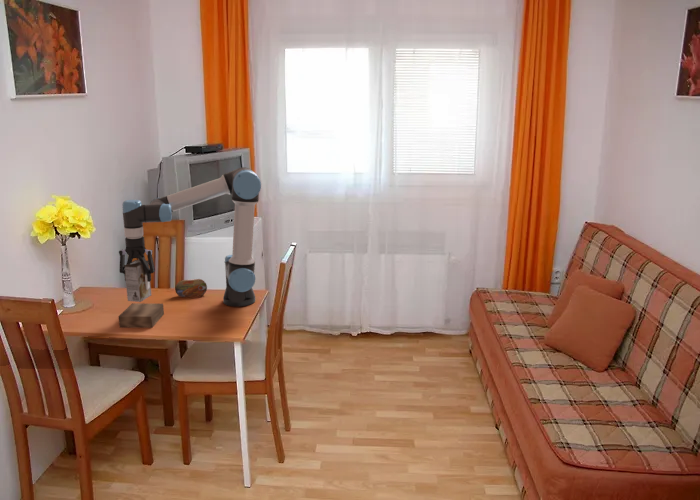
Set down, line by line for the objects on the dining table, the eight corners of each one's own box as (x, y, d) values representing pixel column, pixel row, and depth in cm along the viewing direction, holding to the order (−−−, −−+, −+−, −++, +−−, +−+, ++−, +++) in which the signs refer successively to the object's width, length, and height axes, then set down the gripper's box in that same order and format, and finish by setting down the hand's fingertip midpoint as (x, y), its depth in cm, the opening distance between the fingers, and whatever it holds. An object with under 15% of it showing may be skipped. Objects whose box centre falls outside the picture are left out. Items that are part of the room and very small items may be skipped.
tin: (175, 297, 288) (174, 281, 286) (176, 295, 291) (175, 279, 288) (207, 295, 291) (206, 279, 288) (207, 293, 294) (206, 277, 291)
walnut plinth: (164, 313, 266) (163, 303, 265) (152, 327, 251) (151, 316, 250) (133, 313, 266) (132, 303, 265) (119, 327, 251) (118, 316, 250)
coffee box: (138, 294, 261) (135, 259, 257) (151, 295, 260) (149, 260, 256) (127, 301, 252) (123, 265, 248) (140, 302, 251) (137, 266, 247)
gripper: (160, 234, 253) (164, 285, 258) (114, 234, 253) (119, 285, 259) (155, 239, 245) (159, 291, 251) (107, 238, 245) (112, 290, 251)
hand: (138, 288), depth 255 cm, fingers closed on coffee box, 7 cm apart
